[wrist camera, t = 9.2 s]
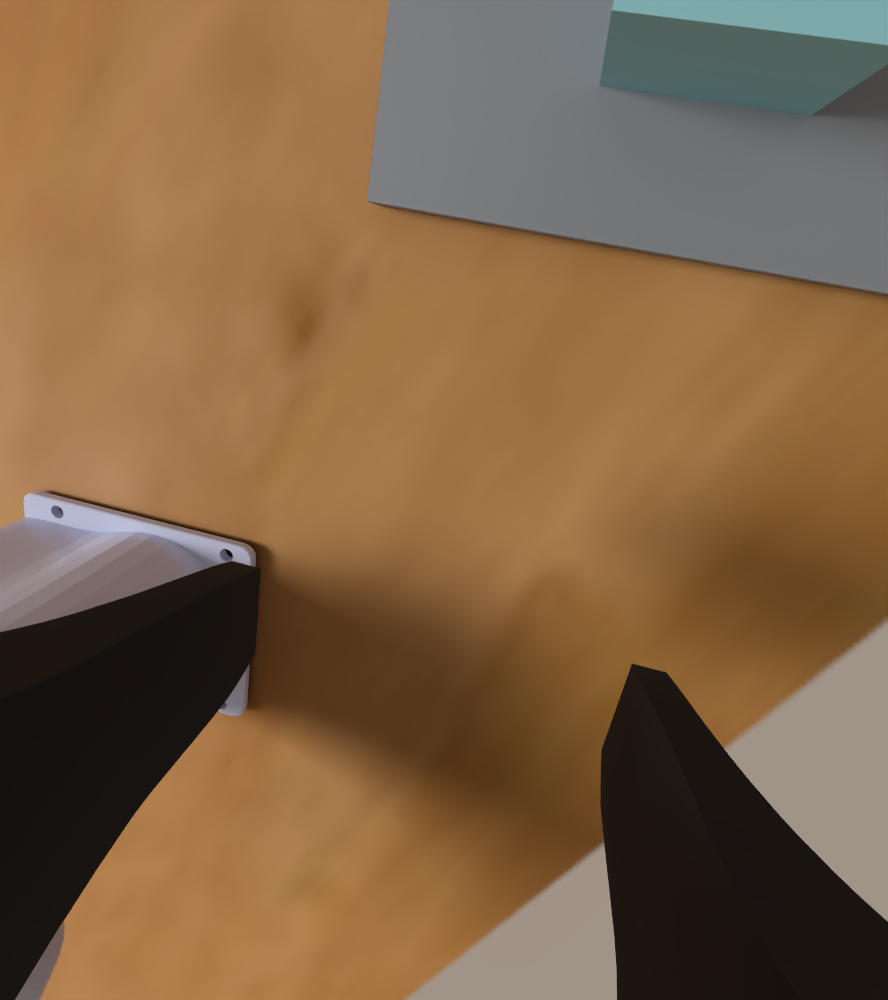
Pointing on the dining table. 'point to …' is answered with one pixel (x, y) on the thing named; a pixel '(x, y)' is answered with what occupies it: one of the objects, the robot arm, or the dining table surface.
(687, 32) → the teal cube
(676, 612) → the dining table surface
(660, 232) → the pin board
